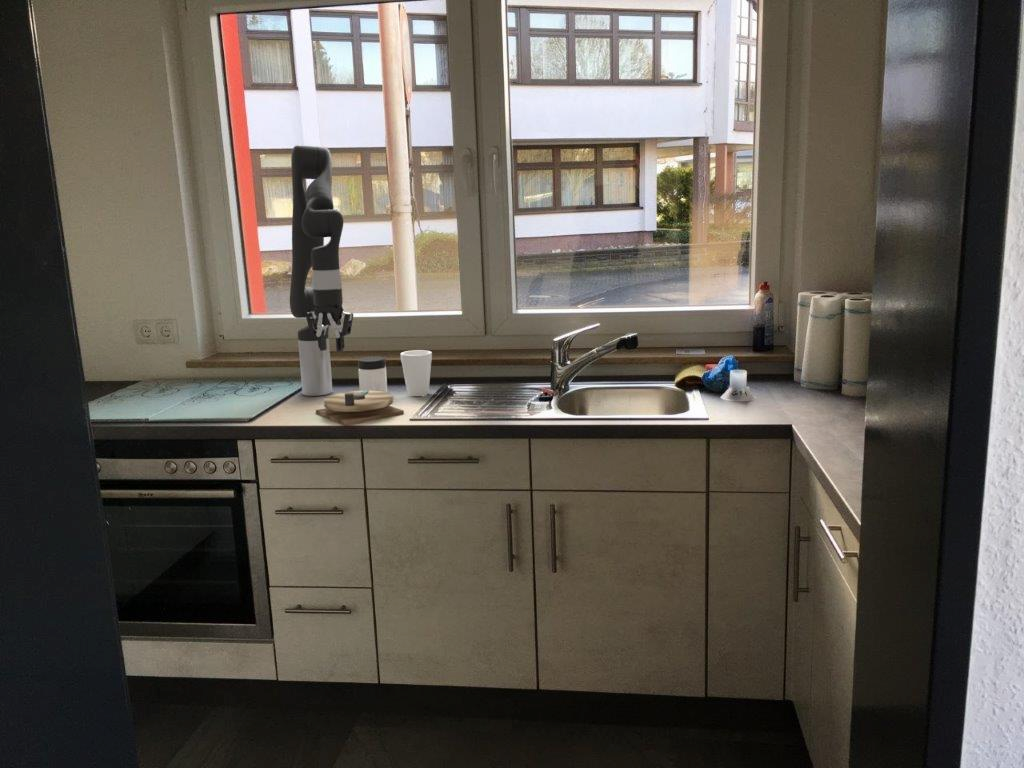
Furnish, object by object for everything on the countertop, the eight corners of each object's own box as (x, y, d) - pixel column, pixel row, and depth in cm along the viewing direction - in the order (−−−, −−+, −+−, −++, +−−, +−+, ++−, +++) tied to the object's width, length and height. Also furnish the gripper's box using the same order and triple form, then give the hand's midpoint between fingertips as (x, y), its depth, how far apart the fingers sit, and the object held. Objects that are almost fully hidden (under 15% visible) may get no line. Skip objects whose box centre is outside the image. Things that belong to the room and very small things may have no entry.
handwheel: (336, 395, 243) (335, 380, 242) (400, 395, 241) (399, 380, 240) (314, 411, 225) (313, 395, 224) (382, 411, 222) (382, 395, 222)
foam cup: (431, 397, 251) (429, 355, 248) (400, 398, 251) (398, 356, 248) (434, 390, 260) (432, 349, 257) (405, 391, 260) (403, 350, 257)
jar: (365, 402, 247) (363, 362, 244) (355, 397, 254) (352, 358, 251) (393, 397, 252) (391, 358, 249) (381, 393, 258) (379, 355, 256)
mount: (315, 413, 235) (315, 404, 234) (372, 402, 246) (371, 394, 245) (345, 425, 221) (344, 415, 220) (403, 413, 232) (403, 404, 231)
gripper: (295, 288, 218) (301, 352, 222) (342, 288, 213) (346, 354, 217) (312, 285, 225) (317, 347, 229) (358, 285, 220) (362, 349, 224)
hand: (331, 350), depth 223 cm, fingers open, 4 cm apart
